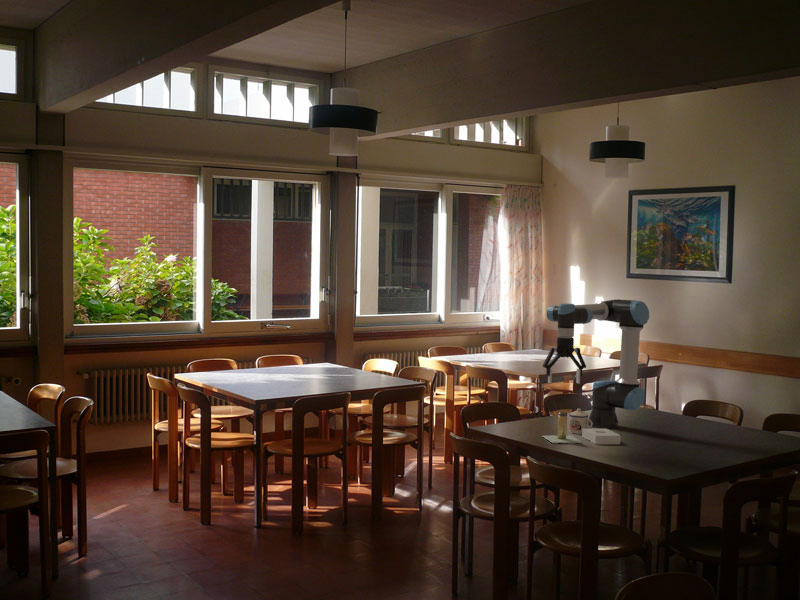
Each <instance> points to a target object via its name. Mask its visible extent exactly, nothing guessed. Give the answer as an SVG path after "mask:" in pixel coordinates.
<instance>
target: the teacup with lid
mask: <svg viewBox="0 0 800 600" xmlns="http://www.w3.org/2000/svg"><path fill="white" fill-rule="evenodd" d="M568 415H569V425H568V426H569V428H568V431H569V433H570V432H572V433H571V434H573V433H577V434H576V435H582V429H593V427H592V425H593V423H592V421H591V420H590V419H589V414H588V413H586V412H584V411H583V410H582V408H577V409H576V410H575V411H572V412H569V414H568ZM588 421H589V422H590V423H591V425H590V426H589V425H588ZM588 426H589V427H588Z"/></svg>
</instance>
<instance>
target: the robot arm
mask: <svg viewBox="0 0 800 600" xmlns="http://www.w3.org/2000/svg"><path fill="white" fill-rule="evenodd" d="M546 318H547V320H549V321H550V322H554V323H557V329H556V330H557V331H556V337H557V338H556V348H555V347H550V348H549V352H548V355H547V356H546V358H545V359H544V361H543V364H542V367H543V368H545V370H546V373H545V374H546V376H547V383H548V384H552V379H553V378H552V377H553V369H551V368H553V366H554V365H555V364H556V362H557V361H558V360H559V359H561V358H563V359H564V358H569V359H571V361H572V362H573V363H574V365H575V366H576V367H577V368H576V371H575V373H576V375H575V376H576V377H575V379H576V380H575V381H576V382H575V383H576V384H578V385H580V384H581V377H582V376H583V369H586V368H587V365H586V363H585V360H584V358H583V355H582V353H581V347H575V348H574V343H575V339H574V336H575V325H581V324H582V325H585V324H589V323H591V322H592V320H598V321H600V322H601V321H606V322H612V323H618V327H619V328H620V330H621V340H620V359H619V361H620V362H619V372H618V373H619V375H618V379H616V380H611V379H610V380H596V381H594V382H593V384H592V390H591V391H592V395H591V396H592V397H591V399H592V400H591V411H590V413H589V415H588V419H590V420H591V421H592V423H593V425H592V428H597V429H615V428H616V429H617V428H619V420H618V419H619V418H618V416H617V413H616V408H618V409H624V410H627V411H636V410H638V409H640V407H641V406H642V405H643V403H644V400H645V391H644V389H643V388H642V387H641V386H640V385H641V383H640V381H639V380H638V370H639V369H638V368H639V354H640V353H639V352H640V339H641V338H640V334H641V331H642V330H643V329H644V325H646V324H647V323H648V321H649V320H650V311H649V307H648V306H647V304H646V302H644V301H641V300H636V299H609V300H603V301H597V302H595V303H590V304H587V303H586V304H574V303H564V302H563V303H562V302H561V303H559V304H558V305H551V306H549V307H548V308H547V309H546ZM555 352H556V354H555ZM574 353H575V354H576V357H577V358H576V357H575V355H574ZM554 355H555V356H554ZM551 359H552V360H551ZM578 360H579V361H578ZM590 425H591V423H590V422H589V421H588V426H589V427H590Z"/></svg>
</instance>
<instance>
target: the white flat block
mask: <svg viewBox="0 0 800 600" xmlns="http://www.w3.org/2000/svg"><path fill="white" fill-rule="evenodd" d="M581 437H582V438H583V437H584V438H583V439H585V438H586V439H588V440H590V441H591V442H590V441H589V442H590V443H592V442H593V443H592V444H594V443H595V444H594V445H621V434H618V433H616V432H614V431H612V430H611V429H609V428H591V429H582V434H581ZM586 439H585V440H586ZM588 440H587V441H588Z"/></svg>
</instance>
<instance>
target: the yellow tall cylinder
mask: <svg viewBox="0 0 800 600" xmlns="http://www.w3.org/2000/svg"><path fill="white" fill-rule="evenodd" d="M557 417H558V418H557V435H556V436H557V439H561V440H565V439H566V435H567V429H568V428H567V426H568V412H567V411H566V412H564V411H559V412H558V413H557Z"/></svg>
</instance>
